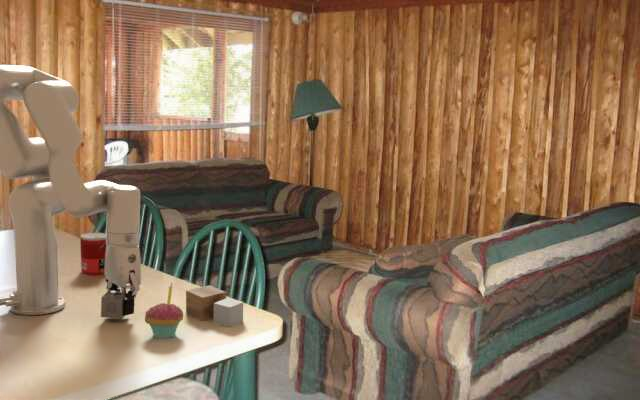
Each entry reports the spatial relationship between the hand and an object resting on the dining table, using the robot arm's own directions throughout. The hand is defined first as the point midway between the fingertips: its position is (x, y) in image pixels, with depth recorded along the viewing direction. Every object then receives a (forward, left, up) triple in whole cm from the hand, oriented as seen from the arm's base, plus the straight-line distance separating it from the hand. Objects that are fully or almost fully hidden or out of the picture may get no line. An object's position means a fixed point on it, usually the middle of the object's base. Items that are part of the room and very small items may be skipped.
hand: (120, 309), depth 167 cm
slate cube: (+19, -18, -2) cm, 26 cm away
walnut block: (+18, -10, -2) cm, 21 cm away
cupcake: (+2, -16, -2) cm, 16 cm away
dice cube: (-2, 0, -1) cm, 2 cm away
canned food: (+13, +40, -2) cm, 42 cm away
